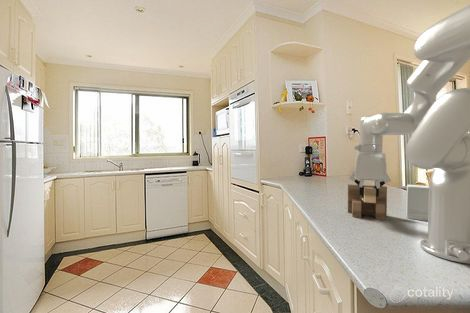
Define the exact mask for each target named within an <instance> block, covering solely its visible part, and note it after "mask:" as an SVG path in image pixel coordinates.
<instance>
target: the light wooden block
mask: <svg viewBox="0 0 470 313" xmlns="http://www.w3.org/2000/svg"><path fill="white" fill-rule="evenodd" d="M361 199H362V200H363V201H364V202H369V203H376V189H374V188H372V187H364V198H362V197H361Z"/></svg>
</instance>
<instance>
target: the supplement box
mask: <svg viewBox="0 0 470 313" xmlns="http://www.w3.org/2000/svg"><path fill="white" fill-rule="evenodd" d="M405 203H406V204H405V205H406V210H405V212H406V214H405V216H406V218H407V219H411V220H419V221H424V222H428V205H429V185H421V184H419V185H418V184H406V202H405Z"/></svg>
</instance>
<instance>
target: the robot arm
mask: <svg viewBox="0 0 470 313" xmlns="http://www.w3.org/2000/svg"><path fill="white" fill-rule="evenodd" d="M413 54H414V56H415V58H416V59H418V60H421V62H420V64H419V65H418V66H417V67H416V68H415V70H414V71H413V72H412V73H411V75H410V76H408V79H407V81H406V85H407V88H408V89H409V90H410V91H412V92H413V93H414V99H413V100H412V103H411V104H410V105H409V106H408V107H407V109H406V110H405V111H403V112H380V113H376V114H374V115H366V116H362V117H361V118H360V120H359V133H358V134H359V136H358V137H359V140H358V145H355V146H354V150H355V151H358V152H356V155H355V159H354V160H355V161H354V169H353V171H352V173H351V174H350V176H349V180H350V181H352V182H354V183H355V185H358V186H359V195H361V197H362V198H364V186H363V185H364V181H374V186H375V187H374V189H376V199H377V197H379V188H380V187H381V186H385V184H388V183H390V182H392V180H391V178H390V176H389V175H388V173H387V158H386V153H384V152H383V143H384V140H383V139H384V136H406V135H409V134H411V133H412V135H411V136H409V139H408V142H407V144H406V146H405V156H406V160H407V161H408V162H409V163H410V164H411V165H412V166H413V167H416V168H418V169H423V170H432V172H431V176H430V178H429V183H428V186H429V205H428V221H427V238H425V239H422V240H421V241H419V242H420V245H419V246H420V248H421V249H422V250H424V251H426V252H427V253H428V254H431V255H434V256H435V257H438V258H441V259H444V260H448V261H451V262H456V263H463V264H468V265H470V87H462V88H461V87H460V88H456V89H453V90H450V91H448V92H445V93H444V94H442V95H441V96H440V97H439V98H437V95H438V94H439V93H440V91H441V90H442V89H443V88H444V87H445V86H446V85H447V83H449V82H450V81H451V79H453V77H454V76H456V75H457V73H458V72H459V71H460V70H462V68H463V67H464V66H465V65H466V64H467V63H468V62H469V61H470V4H468V5H467V6H465V7H462V8H461V9H459V10H457V11H455V12H454V13H451V14H450V15H447V16H446V17H444V18H442V19H440V20H438V21H437V22H436V23H433V24H432V25H431V26H429V27H428V28H427V29H425V30H424V31H423V32H422V33H421V34H420V36H418V38H417V40H416V42H415V43H414V46H413Z"/></svg>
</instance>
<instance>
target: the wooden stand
mask: <svg viewBox="0 0 470 313" xmlns="http://www.w3.org/2000/svg"><path fill="white" fill-rule="evenodd" d="M363 186H364V187H372V188H374V187H375V185H371V184H369V185H368V184H367V185H366V184H363ZM387 198H388V187H387V186H386V185H383V186H381V187H380V188H379V197H377V199H376V203H369V202H364V201H363V200H362V199H361V195H359V186H358V185H357V184H353V183H352V184H350V183H349V184H347V213H348V212H350V213H349V214H351V215H352V218H353V217H354V218H360V219H361V218H362V215H367V216H368V215H370V216H373V217H374V218H375V220H379V221H380V220H381V221H386V217H387V212H388V211H387V210H388V209H387V208H388V204H387V203H388V202H387V201H388V199H387Z"/></svg>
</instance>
